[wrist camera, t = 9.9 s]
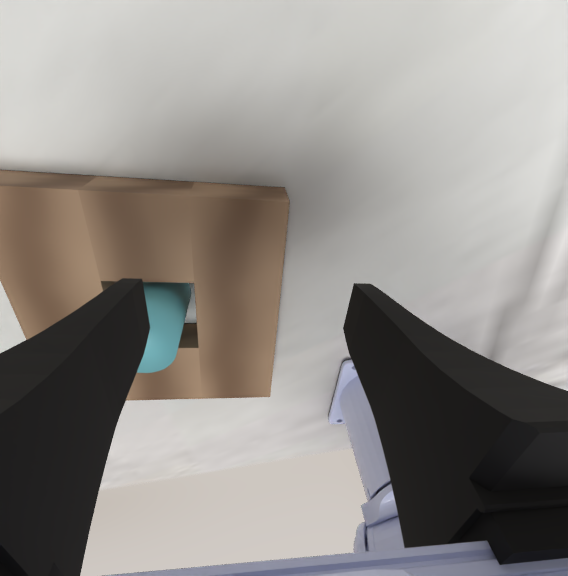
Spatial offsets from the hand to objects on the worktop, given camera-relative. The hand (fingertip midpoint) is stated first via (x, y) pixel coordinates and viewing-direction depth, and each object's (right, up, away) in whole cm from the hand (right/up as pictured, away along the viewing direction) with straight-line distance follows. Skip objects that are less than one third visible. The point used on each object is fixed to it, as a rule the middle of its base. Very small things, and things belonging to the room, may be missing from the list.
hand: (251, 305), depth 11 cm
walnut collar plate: (-7, 0, +10) cm, 12 cm away
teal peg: (-7, 0, +10) cm, 12 cm away
